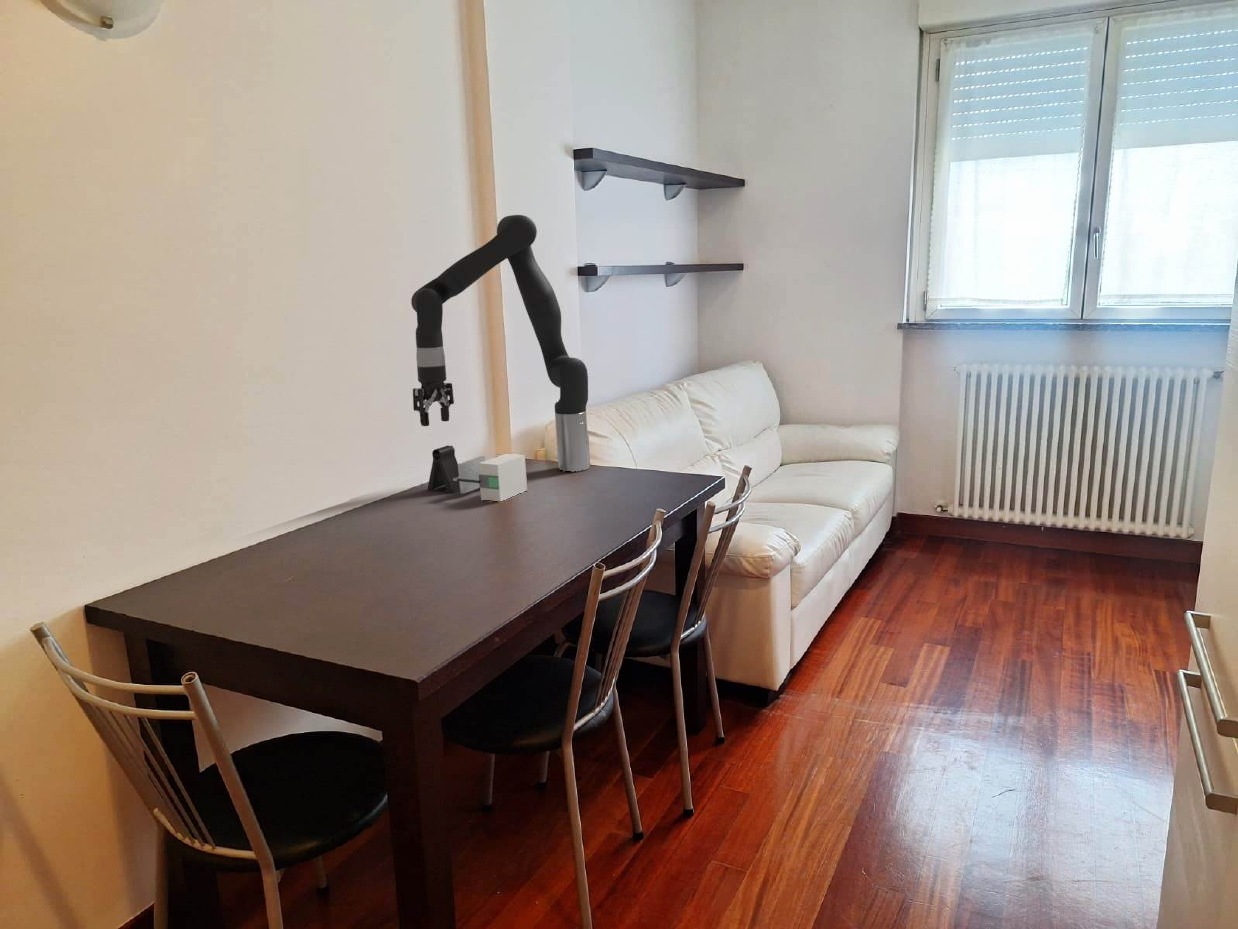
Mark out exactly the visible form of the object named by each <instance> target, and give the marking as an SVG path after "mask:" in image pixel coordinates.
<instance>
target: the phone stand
mask: <svg viewBox="0 0 1238 929" xmlns="http://www.w3.org/2000/svg"><path fill="white" fill-rule="evenodd" d="M455 451H456V450H455V448H454V446H453V445H445V446H442V447H438V448H435V449H433V450H432V452H431V454H432V464H431V469H430V475H429V479H428V480H429V481H428V485H427V489H426V490H427V491H428V492H434V493H435V492H436V493H445V494H455V493H457V492H459V491H458V490H460V483H459V481H454V480H453V478H456V477H459V472H458V464H459V463H458V461H457V458H456V455H455V454H456V452H455Z"/></svg>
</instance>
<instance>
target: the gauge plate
mask: <svg viewBox="0 0 1238 929" xmlns="http://www.w3.org/2000/svg"><path fill="white" fill-rule="evenodd" d="M483 461H486V456H482V455H481V456H478V457H475V458H472V459H469V460H466V461H463V462H459V463H458V472H459V477H456V478H453V480H454V481H459V483H460V492H459V493H460V494H467V493H469V492H471V491H475V490H477V489H479V488H480V485H479V483H480V480H479V468H478V463H480V462H483Z"/></svg>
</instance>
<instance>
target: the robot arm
mask: <svg viewBox="0 0 1238 929" xmlns="http://www.w3.org/2000/svg"><path fill="white" fill-rule="evenodd" d="M537 231H538V230H537V226H536V224H535V221H533V219H532V218H530V217H529V216H527V215H523V214H512V215H507V216H504V217H502V218H501V219H500V220H499V222H498V224H497V227H496V235H495V236H494V237H493V238H492V239H490V240H489V241H488V242H486V243H485V244H483V245H482V246H480V247H479V248H477V249H475V250H474V251H472V252H469V253H468V254H467V255H465V256H464V257H461V258H460V259H458V260H457V261H455V262H454V263H453V264H452V265H450V266H449V267H448V268H446V269H445V270H444V271H443V272H441V274H440V275H438V276H437V277H435V278H434V279H432V280H431V281H429V282H428V283H426V284H423V286H421V287H420V288H419V289H417V290H416V291H415V292H414V293H413V295H412V297H411V299H410V300H411V302H410V304H411V307H412V310H414V311H415V313H416V322H417V323H416V324H417V326H416V329H415V344H416V356H415V357H416V366H417V367H416V370H417V381H418V383H420V385H421V386H420V388H416V387H414V388H412V405H413V408H412V409H413V411H415V412H418V413H419V418H420V420H419V421H420V425H421V426H422V427H428V426H430V418H429V416H430V414H429V409H430V407H431V406H432V405H433V403H435V402H437V403H438V405H439V407H440V420H441V422H449V421H450V407H451V405H454V404H455V398H454V389H453V384H452V382H446V380H447V370H446V368H447V367H446V356H445V355H446V354H445V350H444V338H443V329H442V327H443V313H444V312H443V311H444V310H443V305H444V303H446V302H448V300H451V298H453V297H457V296H458V295H459V294H461V293H463V292H464V291H465V290H466V289H468V288H469V287H470V286H471V285H473V284H474V283H476V282H477V281H478V280H479V279H480V278H481V277H483V276H484V275H486V274H487V273H488V272H490V271H491V270H492V269H494V268H495V267H496V266H497V265H499V264H500V263H502V262H503V261H505V260H508V262H509V266H510V267H511V270H512V272H513V275H514V278H515V281H516V284H517V288H518V290H519V293H520V297H521V299H522V301H523V302H522V303H523V305H524V307H525V310H526V313H527V315H528V318H529V321H530V323H531V325H532V328H533V331H534V334H535V337H536V339H537V341H538V344H539V347H540V351H541V353H542V357H543V362H544V365H545V369H546V373H547V377H548V379H549V381H550V382H551V384H553V385H554V386H555V387H557V388H559V400H558V401H556V402H555V403H554V418H555V419H554V420H555V421H554V422H555V432H556V434H555V435H556V436H555V437H556V449H557V450H556V451H557V465H558V467H557V468H559V469H560V470H563V471H562V472H565V471H571V472H570V473H572V472H574V473H575V471H576V472H583V471H586V470H588V469H589V468H590V467H591V457H590V456H591V454H590V440H589V439H590V437H589V435H588V422H587V421H588V420H587V404H588V401H589V375H588V369H587V365H586V364H585V362H584V361H582V359H579V358H577V357H570V355H569V353H568V352H567V349H566V346H565V344H564V342H563V336H562V312H561V307H560V305H559V301H558V298H557V296H556V293H555V291H554V288H553V287H552V285H551V283H550V281H549V280H548V278H547V276H546V275H545V274H544V272H543V271H542V269H541V267H540V266H539V264H538V262H537V260H536V258H535V255H534V251H533V248H532V245H533V244H534V242H535V241H536V238H537V233H538V232H537ZM559 469H558V470H559ZM560 470H559V471H560ZM582 470H583V471H582Z"/></svg>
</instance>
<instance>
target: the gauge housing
mask: <svg viewBox="0 0 1238 929" xmlns="http://www.w3.org/2000/svg"><path fill="white" fill-rule="evenodd" d="M478 468H479V480H480V483H479V485H480V500H481V501H483V500H493V501H503V500H505V501H507V500H506V499H508V498H510V497H512V496H515V495H517V494H519V493H522V494H524V493H525V492H524V491H526V490H527V491H528V482H527V469H526V468H527V467H526V455H524V454H515V453H513V454H512V453H504V454H501V455H498V456H495V457H492V458H490V459H485V461H483V462H480V463H478ZM523 492H524V493H523ZM519 495H520V494H519ZM517 496H518V495H517ZM515 497H516V496H515ZM512 498H513V497H512ZM510 499H511V498H510ZM508 500H509V499H508ZM503 502H504V501H503Z"/></svg>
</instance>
